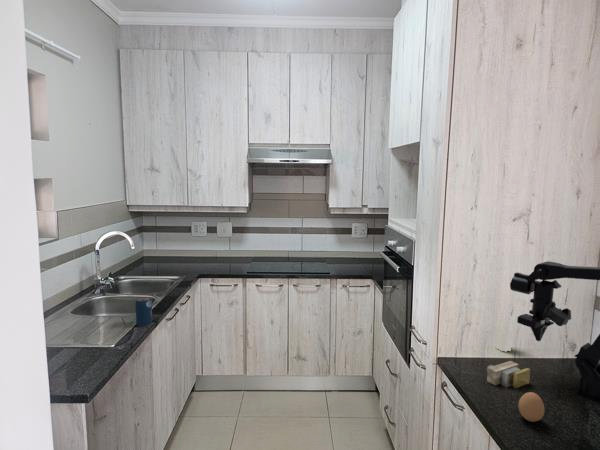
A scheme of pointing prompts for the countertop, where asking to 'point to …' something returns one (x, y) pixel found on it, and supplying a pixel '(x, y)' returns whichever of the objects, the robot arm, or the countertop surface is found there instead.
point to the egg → (531, 407)
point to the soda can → (143, 311)
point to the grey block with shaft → (507, 376)
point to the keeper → (521, 378)
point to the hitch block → (499, 372)
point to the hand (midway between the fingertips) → (538, 340)
